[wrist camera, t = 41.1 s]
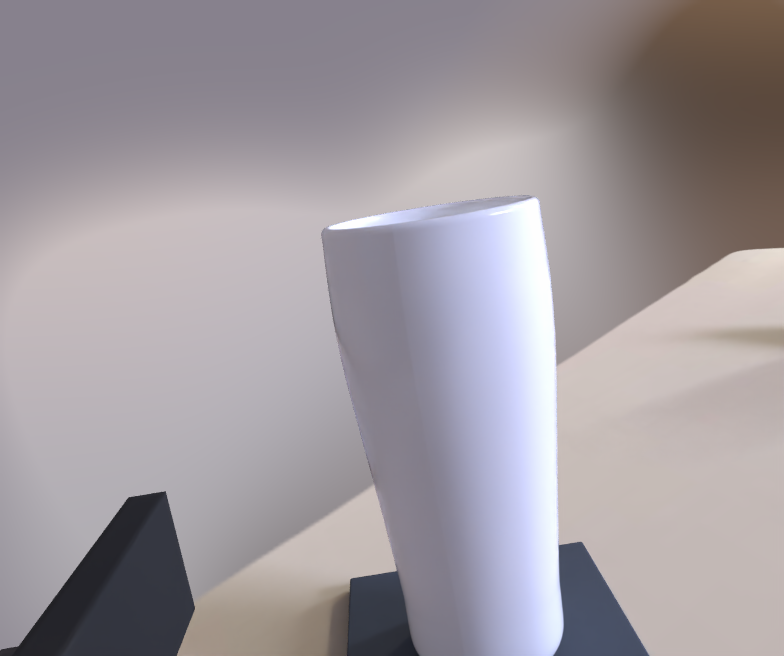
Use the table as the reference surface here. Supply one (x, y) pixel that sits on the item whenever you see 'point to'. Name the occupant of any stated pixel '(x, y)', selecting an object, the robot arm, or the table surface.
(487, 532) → the drinking glass
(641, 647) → the slate mat
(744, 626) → the table surface
